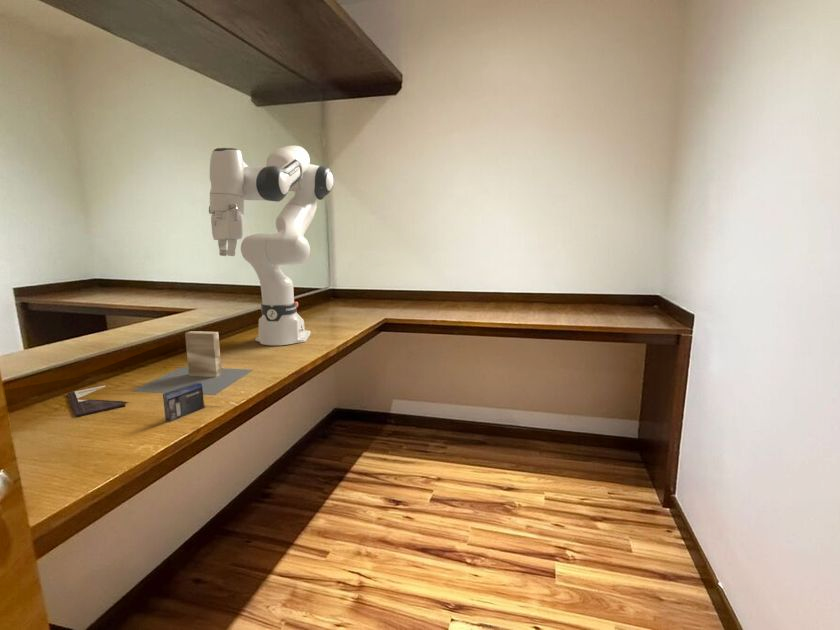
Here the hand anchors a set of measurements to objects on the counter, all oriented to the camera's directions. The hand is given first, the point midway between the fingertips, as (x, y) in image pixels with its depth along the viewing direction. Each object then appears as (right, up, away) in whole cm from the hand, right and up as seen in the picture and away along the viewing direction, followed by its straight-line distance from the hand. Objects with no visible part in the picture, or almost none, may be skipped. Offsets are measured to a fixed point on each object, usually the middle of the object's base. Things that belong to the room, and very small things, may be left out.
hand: (227, 256), depth 124 cm
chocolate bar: (-22, -38, -21) cm, 48 cm away
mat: (-5, -35, -8) cm, 36 cm away
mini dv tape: (+3, -39, -28) cm, 48 cm away
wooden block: (-4, -34, -4) cm, 34 cm away
